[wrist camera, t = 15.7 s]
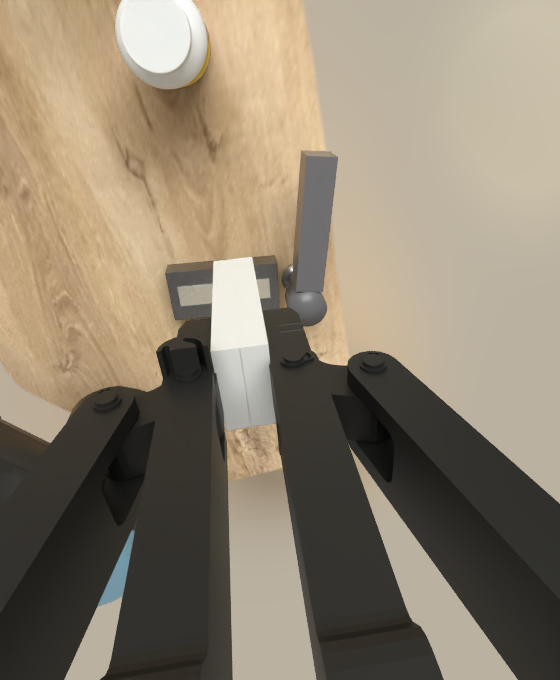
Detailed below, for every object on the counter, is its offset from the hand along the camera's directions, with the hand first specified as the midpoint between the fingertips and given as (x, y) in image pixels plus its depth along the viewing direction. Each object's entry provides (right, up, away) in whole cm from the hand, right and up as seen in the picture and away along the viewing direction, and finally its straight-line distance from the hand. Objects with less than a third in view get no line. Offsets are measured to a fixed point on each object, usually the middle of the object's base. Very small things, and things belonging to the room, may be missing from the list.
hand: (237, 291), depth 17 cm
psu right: (-2, +5, +36) cm, 36 cm away
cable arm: (+5, +9, +28) cm, 30 cm away
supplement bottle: (-8, +25, +23) cm, 35 cm away
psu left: (-8, +5, +35) cm, 36 cm away
